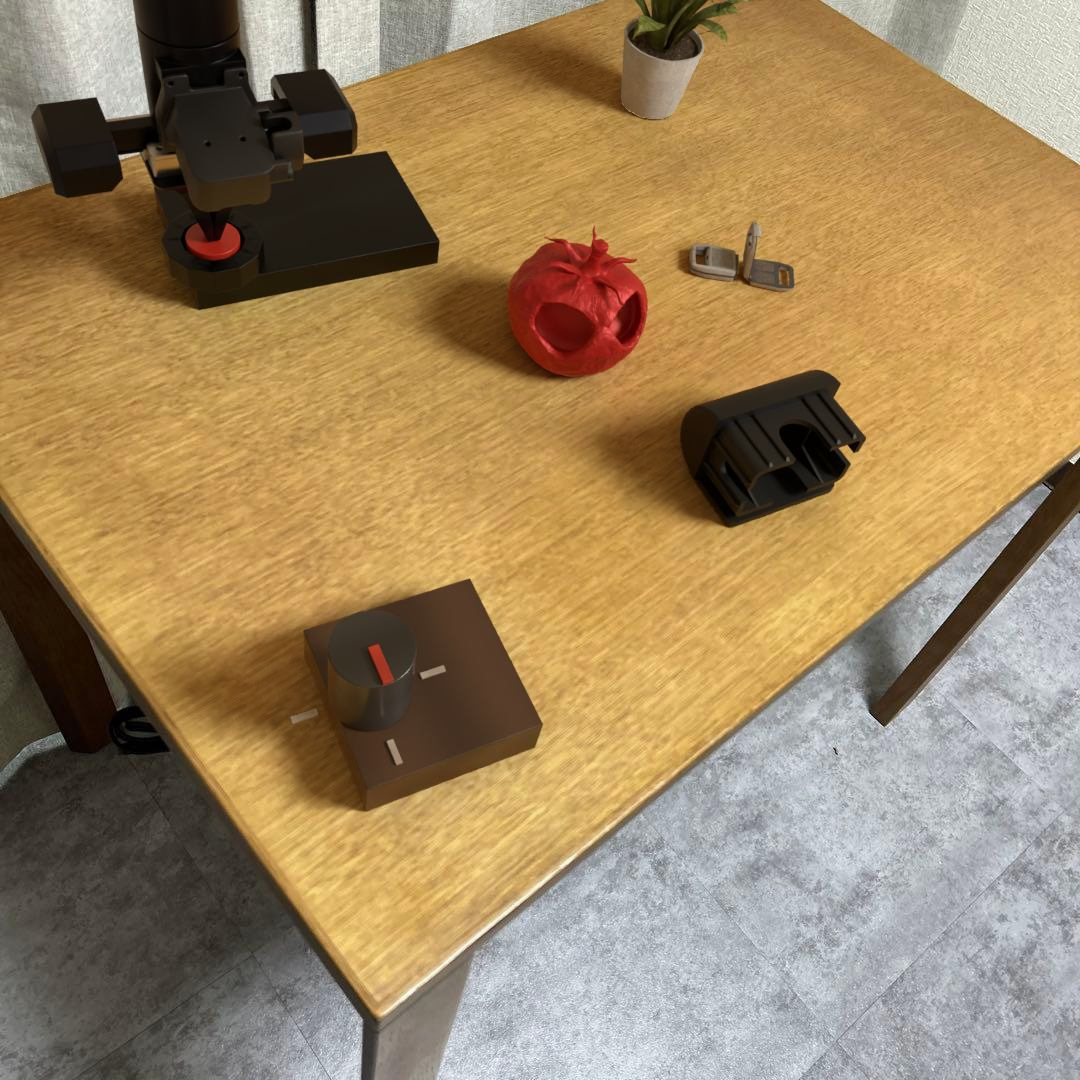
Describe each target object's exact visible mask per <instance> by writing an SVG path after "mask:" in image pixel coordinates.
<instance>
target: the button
mask: <svg viewBox="0 0 1080 1080" xmlns="http://www.w3.org/2000/svg"><path fill="white" fill-rule="evenodd" d="M185 239H186V247H187V252H189V253H190V254H192V255H193V256H195V257H196V258H201V259H207V260H213V261H214V260H220V259H225V258H230V257H232V256H233V255H235V254H236V253H238V252H239V251H241V242H240V235H239V233H238V231H237V230H236V228H234V227H233V226H232V225H230V224H228V223H226V226H225V229H224V232H223V234H222V237H221V240H219V241H213V242H208V240H207V239H206V237H205V235H204V233H203V231H202V229H201V227H200V226H199V224H198V223H197V224H195V225H193V226H192V227H190V228H189V230H188V231H187V233H186V237H185Z"/></svg>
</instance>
